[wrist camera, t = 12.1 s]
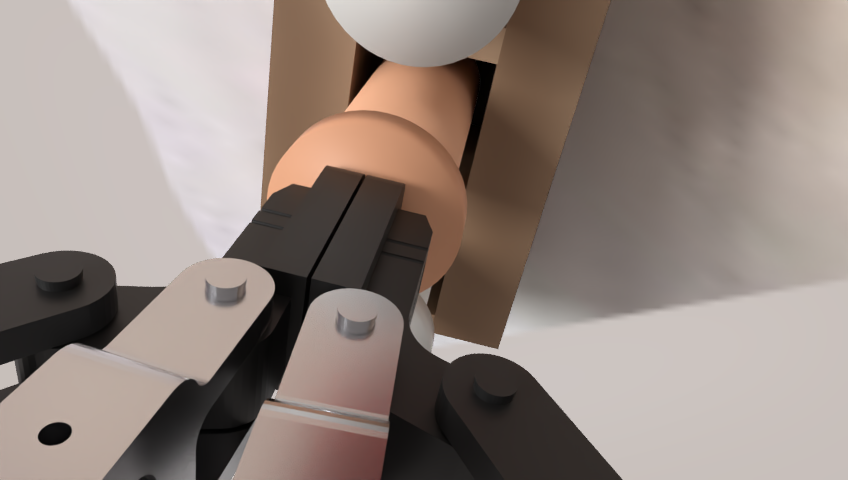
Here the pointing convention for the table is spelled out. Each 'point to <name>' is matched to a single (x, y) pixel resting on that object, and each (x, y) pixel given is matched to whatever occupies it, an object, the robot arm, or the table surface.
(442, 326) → the walnut block
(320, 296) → the robot arm
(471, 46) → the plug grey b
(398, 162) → the plug terracotta
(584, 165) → the table surface
